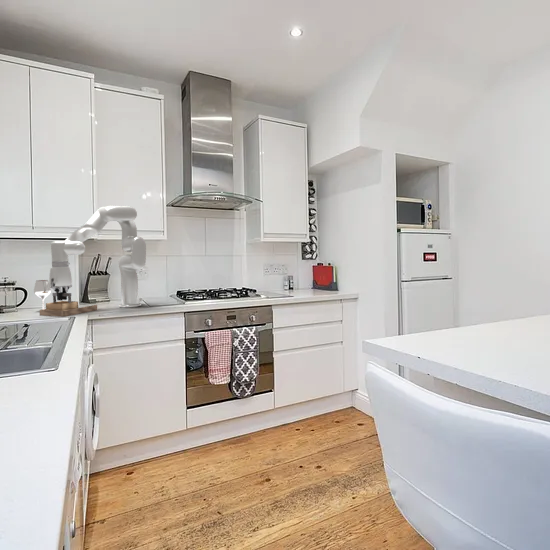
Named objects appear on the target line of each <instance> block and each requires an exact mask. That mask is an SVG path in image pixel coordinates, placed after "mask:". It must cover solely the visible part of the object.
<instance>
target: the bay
mask: <svg viewBox="0 0 550 550" xmlns="http://www.w3.org/2000/svg"><path fill="white" fill-rule="evenodd" d="M94 311H98V305H97V304H94V305H92V304H91V305H87V306H82V307H78V308H76V309H70V310H65V311H58V310H46V308H44V309H43V308H42V309H39V316H44V317H45V316H46V317H60V318H64V317H69V316H75V315H81V314H85V313H90V312H94Z"/></svg>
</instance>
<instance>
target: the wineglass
mask: <svg viewBox="0 0 550 550" xmlns="http://www.w3.org/2000/svg"><path fill="white" fill-rule="evenodd" d="M50 287H51V286H50V284H49V279H44V280H43V279H39V280H36V281H35V283H34V287H33V293H34V295H35V296H37V297H38V298H39V299H41V300H42V301H41V302H42V303H41V304H42V309H45V299H46V298H47V297H48V296H50V294H52V289H50Z"/></svg>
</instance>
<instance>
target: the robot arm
mask: <svg viewBox="0 0 550 550" xmlns="http://www.w3.org/2000/svg"><path fill="white" fill-rule="evenodd" d="M137 217H138V211H137V210H136V208H135V207H133V206H129V205H124V206H123V205H120V206H119V205H108V206H100V207H99V208H98V209H96V211H95V212H94V213H93V214H92V215H91V216H90V217H89V218H88V219H87V220H86V222H85V223H84V224H82V225H81V226H80V227H78V228H77V229H76V230H74V231H73V232H72V233H70V235H68V237H67V238H66V239H65V240H61V241H60V240H55V241H54V240H53V241H52V242H51V243H50V250H51V251H50V253H51V267H50V268H49V269H50V270H49V279H48V281H49V284H50V289H51V291H54V293H57V296H56V301H68V296H63V295H62V293H69V289H71V288H72V287H73V285H72V282H73V280H72V272H71V267H70V266H69V265H71V264H70V262H69V256H78V255H80V256H81V255H82V254H84V253H85V252H86V245H85V244H84V242H85V241H87V240H89V239H90V238H93V237H96V235H98V234H100V233H101V231H102V230H103V228H104V227H105V226H106V225H107V224H108V223H109V222H118V224H119V225H120V228H121V250H123V252H126V253H130V254H123V255H122V256H120V257H119V259H118V268H119V271H120V272H119V273H120V286H121V288H120V289H121V292H120V293H121V304H119V305H118V307H119V308H136V307H141V306H142V303H140V302H143V301H144V299H143V298H142V297H141V298H139V283H138V281H139V279H138V274H137V271H142V270H143V269H144V268H145V266H146V260H147V257H146V256H147V243H146V241H145V239H144V238H143V237H141V236H139V235H138V232H137V231H138V228H137V225H136V222H135V221H134V220H135V219H136V218H137Z"/></svg>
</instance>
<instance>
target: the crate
mask: <svg viewBox="0 0 550 550" xmlns="http://www.w3.org/2000/svg"><path fill="white" fill-rule="evenodd" d="M51 295H52V302H47V303H45V309H46V310H58V311H65V310H70V309H76V308H79V301H72V293H71V292H67V293H62V295H63V296H67V300H62V301H60V300H58V301H57V293H56V292H51Z"/></svg>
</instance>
